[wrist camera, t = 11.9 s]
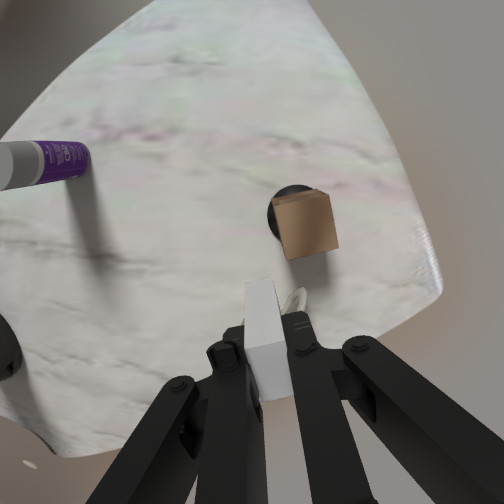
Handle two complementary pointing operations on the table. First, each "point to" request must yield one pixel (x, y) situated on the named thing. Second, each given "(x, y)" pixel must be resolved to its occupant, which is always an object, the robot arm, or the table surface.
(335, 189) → the table surface
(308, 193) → the brown shipping carton
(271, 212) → the post
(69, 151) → the container
